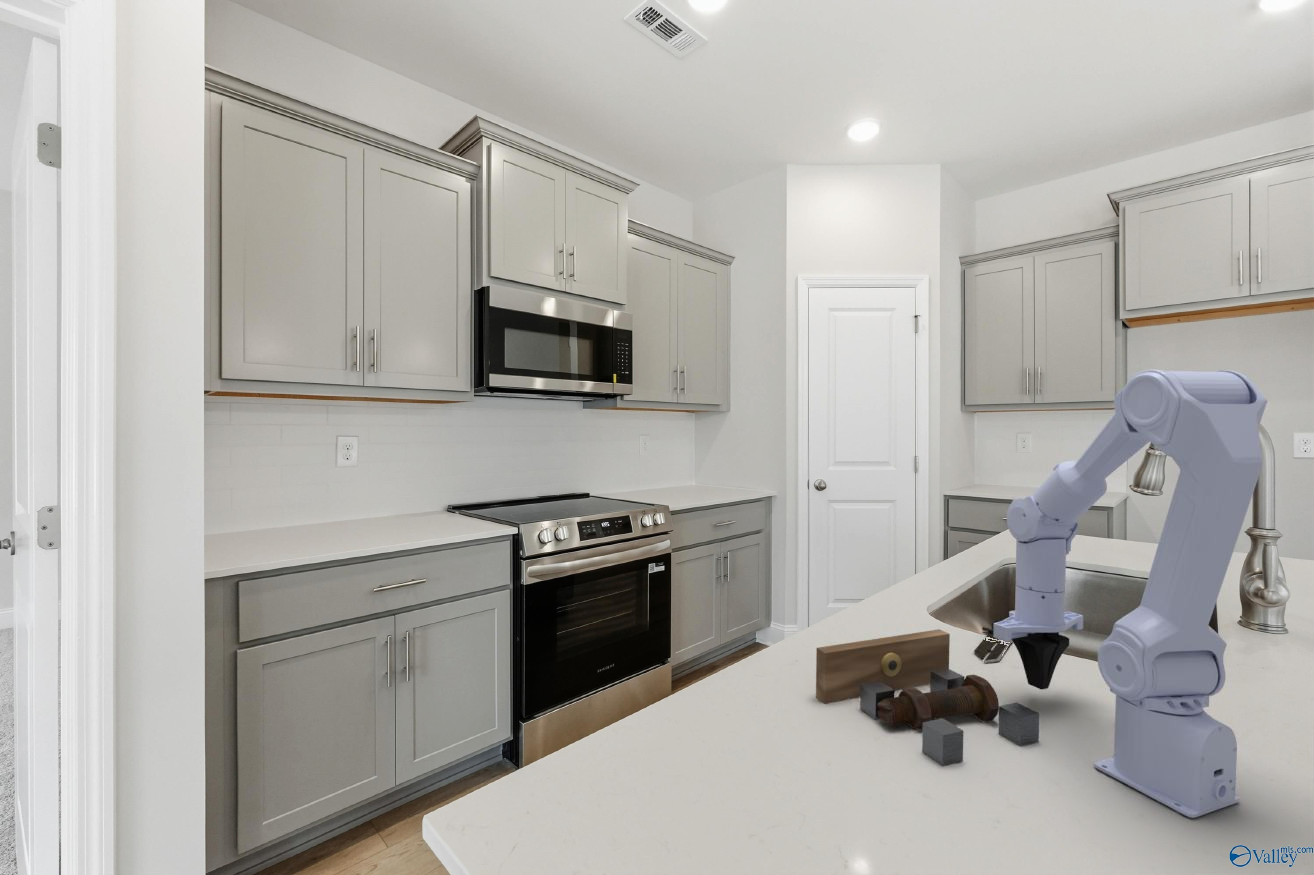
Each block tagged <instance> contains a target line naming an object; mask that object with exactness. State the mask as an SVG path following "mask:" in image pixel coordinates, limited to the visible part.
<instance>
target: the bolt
mask: <svg viewBox="0 0 1314 875" xmlns="http://www.w3.org/2000/svg"><path fill="white" fill-rule="evenodd" d="M877 706H878V707H881V709H879V711H878V715H879V717H880V719H879V720H880V721H882V722H883V723H884V724H885V725H886V726H889V727H890V726H891V727H892V726H900V725H909V727H911V728H913V729H916V730H920V729H923V722H928V721H933V720H937V719H942V718H943V719H945V718H951V717H956V716H957V717H958V716H963V715H964V716H965V715H966V716H967V715H969V716H970V715H972V716H974V717H975V718H977V719H979V720H980V721H982V722H983V723H985V722H991V721H993V720H994V719H995V718H996V717H997V716H998V715H999V706H1000V702H999V698H998V694H997V692H996V691H995V689H994V687H993V686H992V684H991V683H990V682H989V681H988V679H985V678H984V677H982V676H979V675H976V674H968V675H965V677H964V681H963V683H962V685H961V687H958V688H954V689H947V690H940V691H933V692H930V691H929V692H923V691H921V690H919V689H918V688H916V687H907V688H904V689H901V691H900V692H899V694H898V696H894V698H893V697H892V698H887V699H883V701H881V702H880V703H878V705H877Z"/></svg>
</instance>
